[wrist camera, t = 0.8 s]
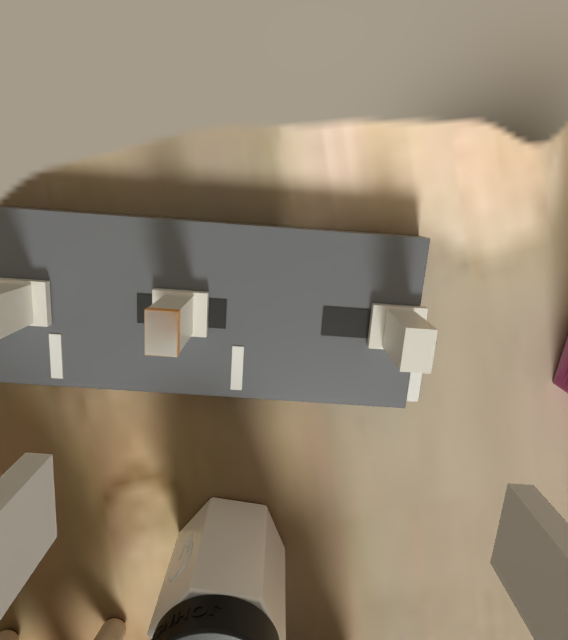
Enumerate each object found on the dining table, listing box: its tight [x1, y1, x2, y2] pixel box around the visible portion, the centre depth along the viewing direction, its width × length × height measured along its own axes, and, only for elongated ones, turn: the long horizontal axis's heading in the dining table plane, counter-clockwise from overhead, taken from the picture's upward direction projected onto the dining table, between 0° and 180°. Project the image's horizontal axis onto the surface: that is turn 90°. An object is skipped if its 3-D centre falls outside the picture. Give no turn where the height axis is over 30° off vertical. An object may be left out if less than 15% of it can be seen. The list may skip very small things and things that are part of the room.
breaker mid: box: [144, 288, 209, 357], centre depth 28 cm, size 4×3×5 cm
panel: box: [0, 206, 430, 408], centre depth 32 cm, size 33×12×3 cm, turn 86°
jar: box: [148, 497, 286, 640], centre depth 32 cm, size 9×8×12 cm
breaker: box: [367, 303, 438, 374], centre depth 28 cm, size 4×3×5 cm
